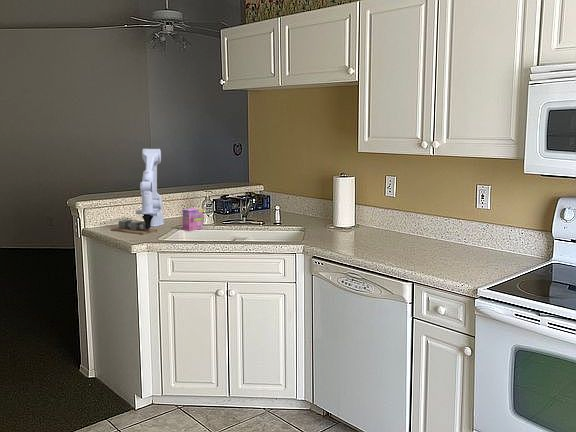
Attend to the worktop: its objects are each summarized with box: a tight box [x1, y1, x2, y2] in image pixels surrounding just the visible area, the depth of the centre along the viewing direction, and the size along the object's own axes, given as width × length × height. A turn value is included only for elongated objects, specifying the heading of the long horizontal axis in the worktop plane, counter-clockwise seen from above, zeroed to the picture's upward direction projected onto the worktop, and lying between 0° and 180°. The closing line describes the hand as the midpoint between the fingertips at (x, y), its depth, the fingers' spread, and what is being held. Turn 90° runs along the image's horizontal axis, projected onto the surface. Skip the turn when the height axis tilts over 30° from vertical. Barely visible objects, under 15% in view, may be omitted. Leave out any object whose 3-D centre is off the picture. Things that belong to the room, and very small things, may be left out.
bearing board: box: [110, 219, 158, 236], centre depth 320 cm, size 12×22×5 cm, turn 64°
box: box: [182, 206, 204, 232], centre depth 326 cm, size 10×6×12 cm, turn 143°
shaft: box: [117, 221, 150, 231], centre depth 320 cm, size 4×20×4 cm, turn 64°
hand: (148, 228), depth 316 cm, fingers closed, pressing on shaft
